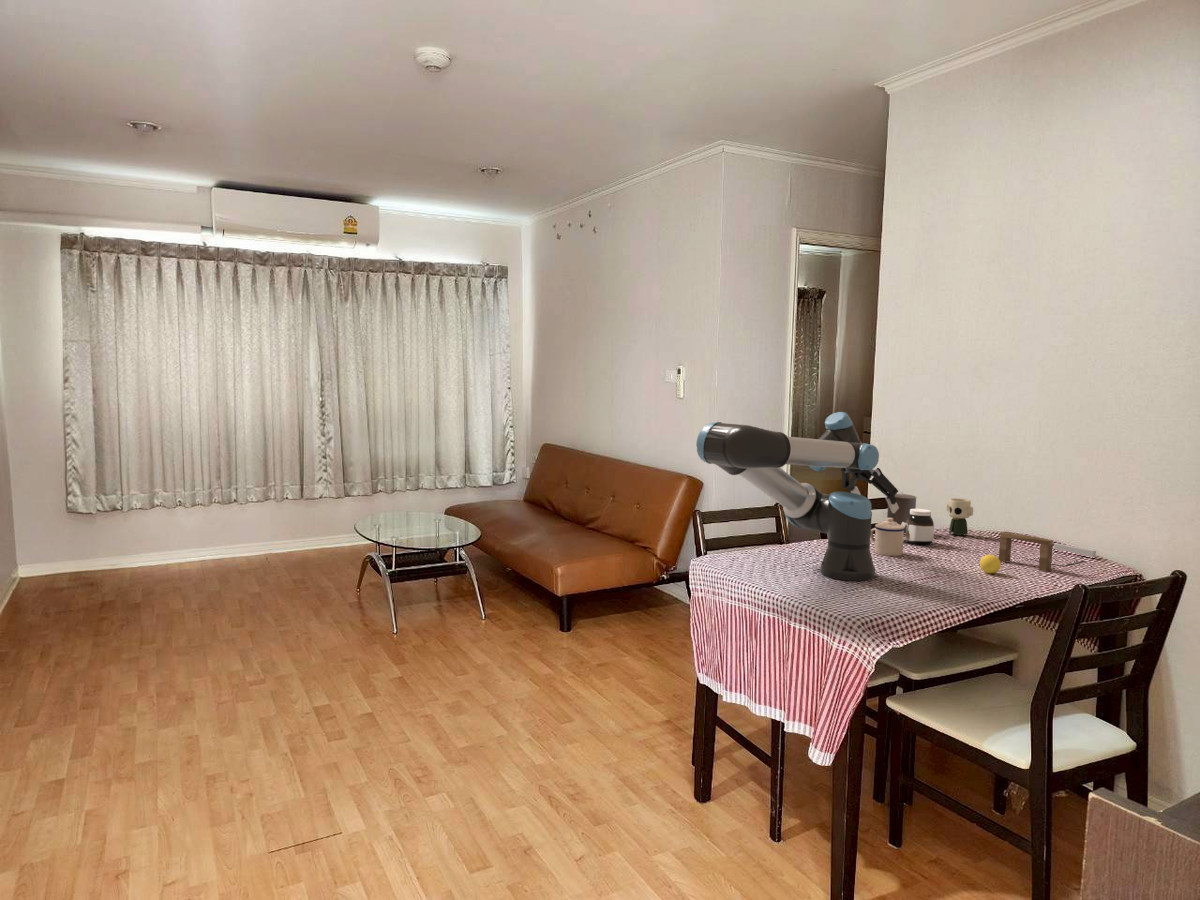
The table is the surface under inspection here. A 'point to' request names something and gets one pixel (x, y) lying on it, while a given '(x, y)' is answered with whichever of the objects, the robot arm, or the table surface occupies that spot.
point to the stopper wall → (1075, 550)
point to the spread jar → (919, 527)
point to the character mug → (959, 515)
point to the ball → (990, 564)
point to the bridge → (1045, 544)
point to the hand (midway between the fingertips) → (877, 507)
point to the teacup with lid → (888, 538)
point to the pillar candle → (902, 508)
